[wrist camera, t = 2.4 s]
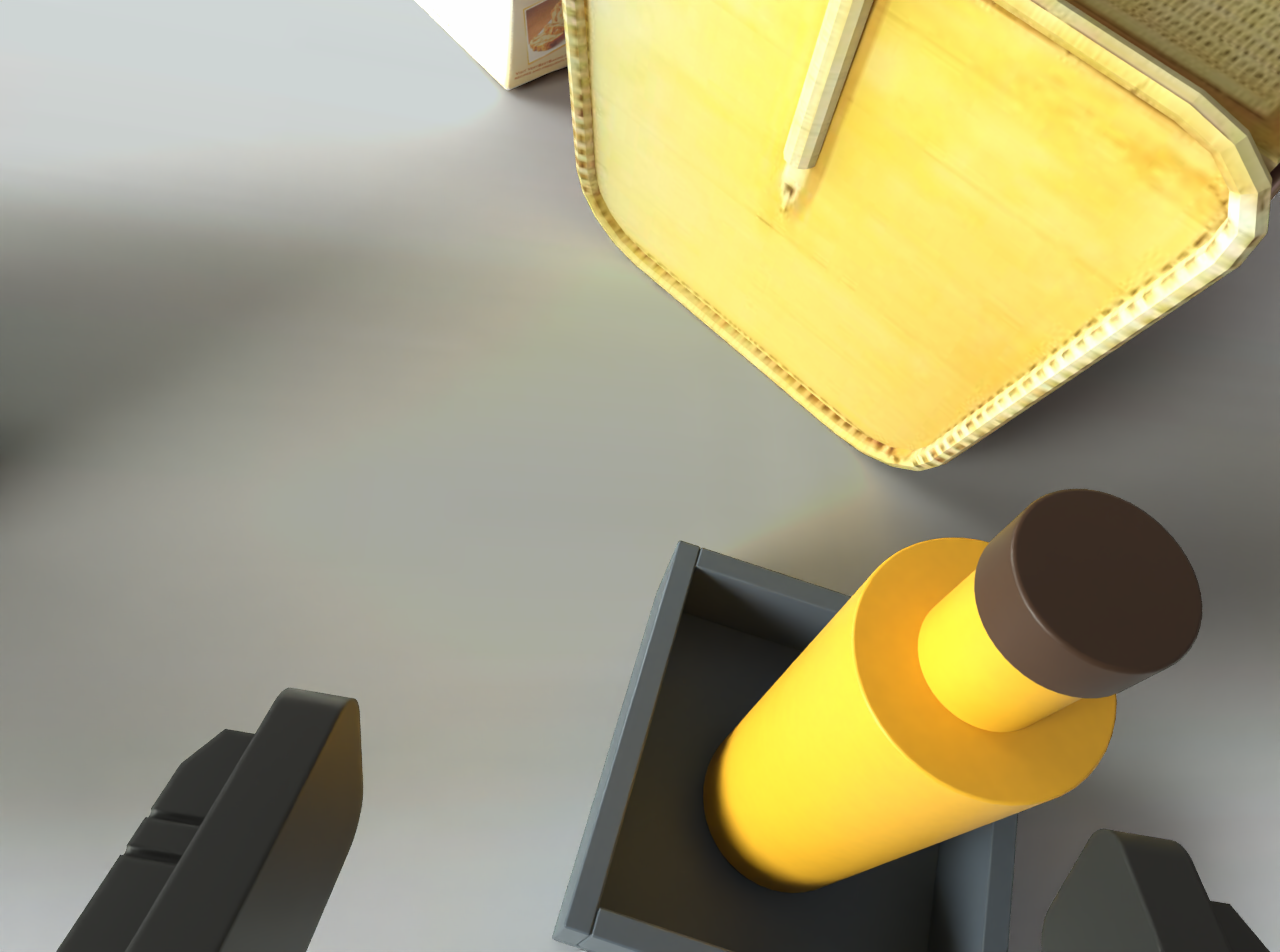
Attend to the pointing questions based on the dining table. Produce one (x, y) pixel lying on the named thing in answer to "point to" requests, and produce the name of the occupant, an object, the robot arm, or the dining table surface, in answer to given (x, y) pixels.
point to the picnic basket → (927, 186)
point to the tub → (674, 810)
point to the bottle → (952, 691)
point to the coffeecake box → (506, 35)
